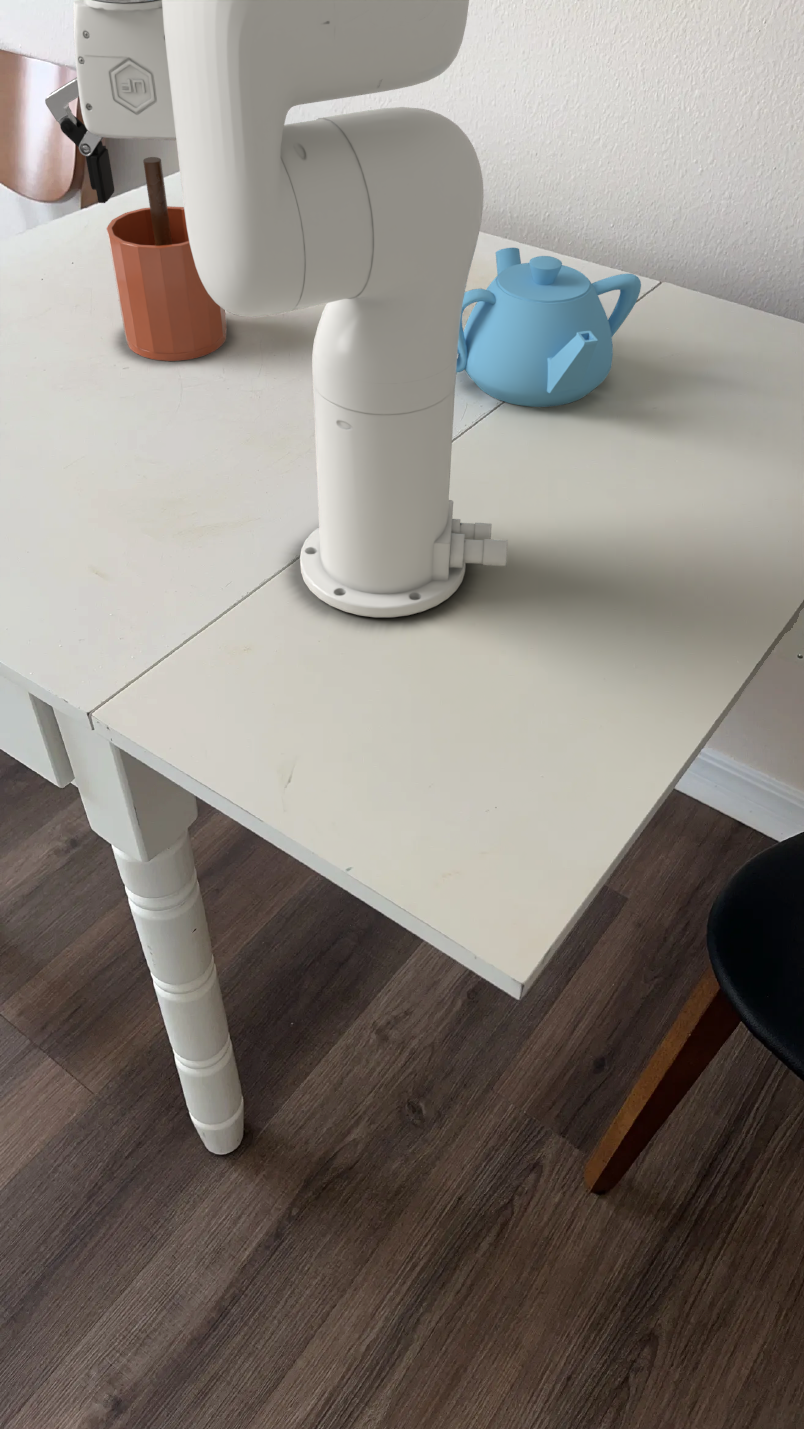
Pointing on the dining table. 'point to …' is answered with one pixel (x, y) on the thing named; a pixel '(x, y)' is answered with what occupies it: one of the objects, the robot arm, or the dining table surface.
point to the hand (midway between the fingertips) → (158, 200)
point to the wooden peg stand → (157, 201)
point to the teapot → (541, 331)
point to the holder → (162, 290)
